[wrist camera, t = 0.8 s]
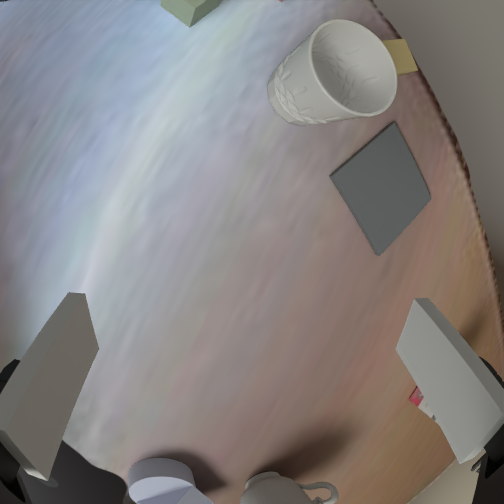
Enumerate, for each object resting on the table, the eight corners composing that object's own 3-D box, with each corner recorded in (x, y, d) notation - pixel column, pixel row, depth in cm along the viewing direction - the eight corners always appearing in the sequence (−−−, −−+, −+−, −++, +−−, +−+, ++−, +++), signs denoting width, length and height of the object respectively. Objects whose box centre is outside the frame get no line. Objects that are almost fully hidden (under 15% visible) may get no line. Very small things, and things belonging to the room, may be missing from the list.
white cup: (336, 132, 30) (403, 120, 21) (264, 132, 28) (315, 112, 19) (328, 62, 28) (388, 31, 19) (257, 55, 26) (302, 10, 17)
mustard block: (360, 50, 29) (381, 40, 25) (383, 47, 29) (404, 38, 26) (373, 81, 30) (396, 74, 26) (395, 77, 31) (418, 70, 27)
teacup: (324, 466, 42) (353, 507, 33) (248, 508, 40) (267, 551, 31) (297, 436, 38) (330, 486, 29) (209, 484, 36) (226, 537, 27)
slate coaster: (329, 176, 31) (332, 176, 30) (391, 122, 32) (394, 122, 31) (376, 254, 35) (379, 256, 34) (428, 198, 36) (431, 198, 35)
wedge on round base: (215, 492, 37) (171, 450, 33) (226, 525, 31) (179, 490, 26) (165, 508, 35) (115, 468, 31) (171, 540, 29) (115, 506, 25)
